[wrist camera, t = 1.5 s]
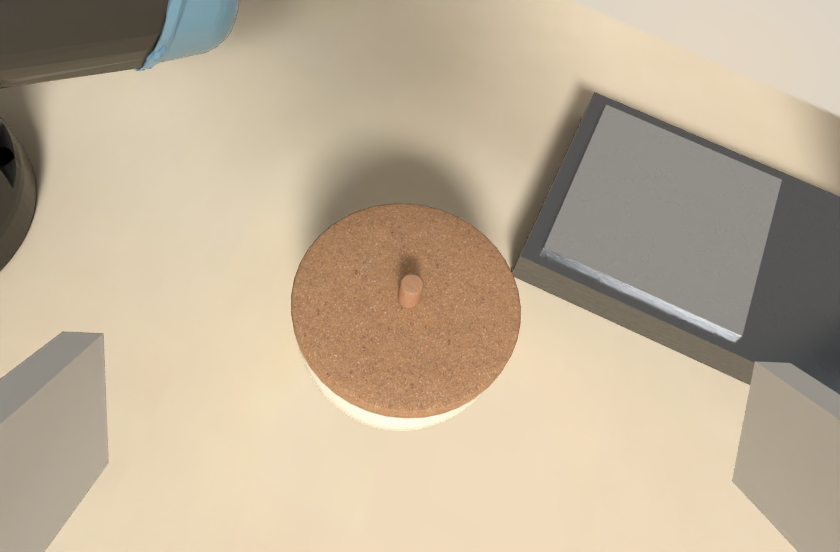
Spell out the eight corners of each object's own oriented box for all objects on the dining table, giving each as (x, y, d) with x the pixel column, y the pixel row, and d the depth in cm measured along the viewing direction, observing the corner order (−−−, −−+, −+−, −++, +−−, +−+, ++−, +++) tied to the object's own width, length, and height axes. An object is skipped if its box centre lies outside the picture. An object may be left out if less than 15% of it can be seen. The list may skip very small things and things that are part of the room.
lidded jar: (376, 240, 43) (389, 145, 35) (523, 344, 41) (573, 269, 33) (254, 373, 39) (236, 299, 30) (414, 497, 37) (440, 454, 28)
